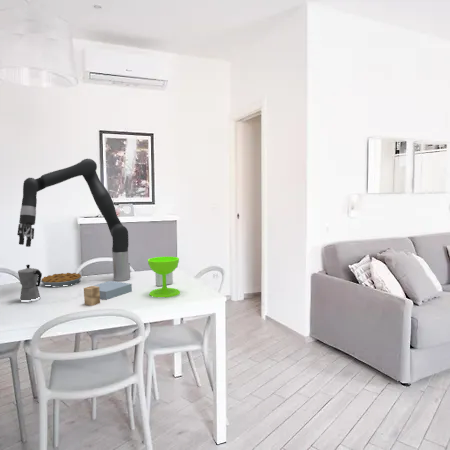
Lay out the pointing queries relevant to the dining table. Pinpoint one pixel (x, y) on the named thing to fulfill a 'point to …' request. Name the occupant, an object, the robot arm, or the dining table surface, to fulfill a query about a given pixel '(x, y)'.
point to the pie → (61, 279)
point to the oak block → (91, 295)
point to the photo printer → (168, 279)
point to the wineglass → (164, 274)
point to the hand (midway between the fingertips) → (24, 245)
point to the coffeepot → (29, 283)
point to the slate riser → (113, 289)
